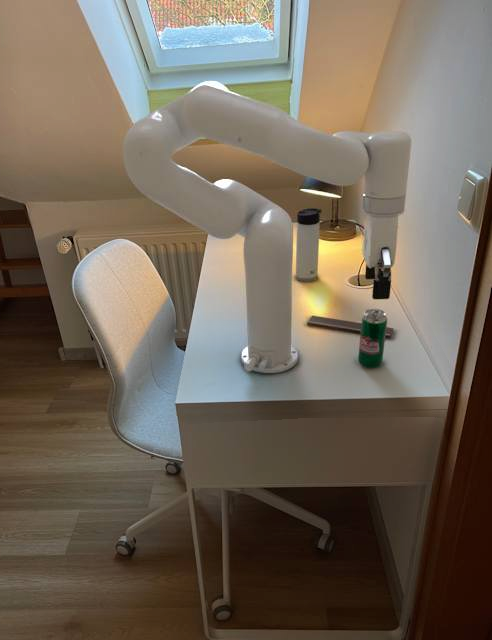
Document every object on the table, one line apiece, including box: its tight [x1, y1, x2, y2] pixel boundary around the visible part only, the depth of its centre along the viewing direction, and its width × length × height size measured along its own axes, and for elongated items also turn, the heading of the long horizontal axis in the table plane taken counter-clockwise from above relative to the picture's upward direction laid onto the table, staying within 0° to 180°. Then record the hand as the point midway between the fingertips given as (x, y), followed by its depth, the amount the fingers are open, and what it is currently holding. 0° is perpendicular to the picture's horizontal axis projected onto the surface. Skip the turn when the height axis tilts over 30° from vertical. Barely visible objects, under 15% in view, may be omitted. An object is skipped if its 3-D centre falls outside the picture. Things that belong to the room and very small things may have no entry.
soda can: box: [357, 308, 388, 369], centre depth 115 cm, size 5×5×12 cm
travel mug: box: [295, 207, 322, 283], centre depth 154 cm, size 6×7×20 cm
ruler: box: [306, 315, 394, 340], centre depth 132 cm, size 4×20×1 cm, turn 65°
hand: (376, 288), depth 110 cm, fingers open, 9 cm apart
